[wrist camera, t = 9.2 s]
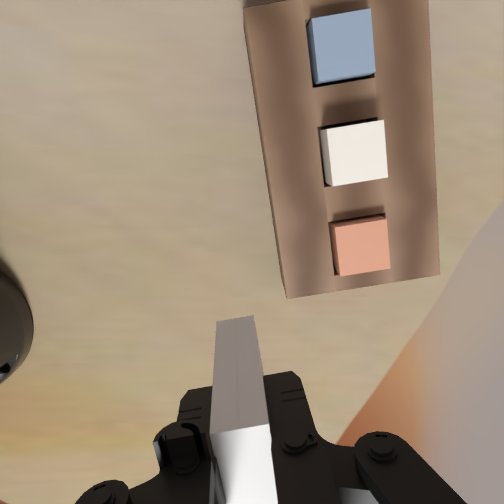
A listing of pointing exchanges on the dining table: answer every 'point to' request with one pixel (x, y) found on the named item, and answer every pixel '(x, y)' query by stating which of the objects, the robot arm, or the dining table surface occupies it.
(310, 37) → the slate blue key
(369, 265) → the terracotta key
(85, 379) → the dining table surface
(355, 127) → the white key
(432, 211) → the key panel
